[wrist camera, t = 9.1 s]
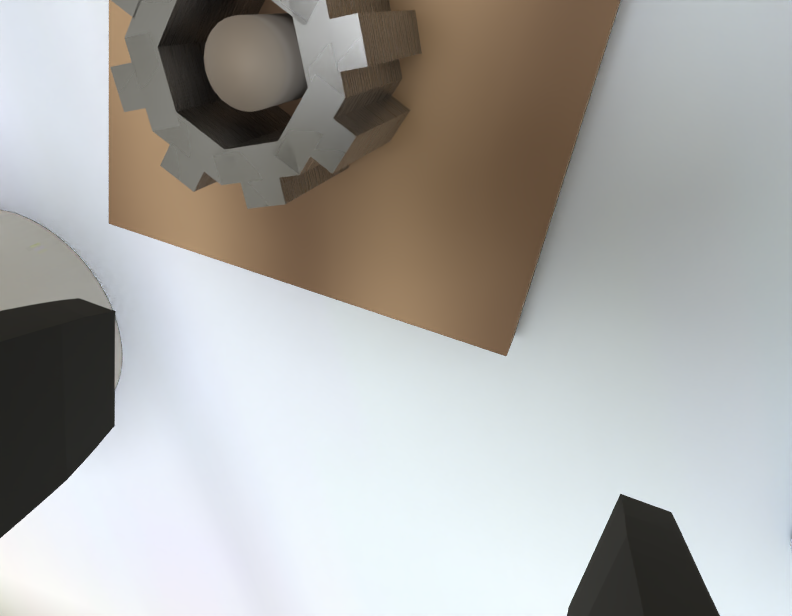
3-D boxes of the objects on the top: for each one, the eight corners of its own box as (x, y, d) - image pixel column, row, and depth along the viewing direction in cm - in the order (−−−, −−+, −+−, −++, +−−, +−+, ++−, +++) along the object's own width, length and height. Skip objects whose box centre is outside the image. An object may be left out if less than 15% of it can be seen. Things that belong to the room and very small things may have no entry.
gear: (396, -109, 14) (329, -139, 11) (438, 155, 16) (391, 192, 13) (177, -48, 16) (70, -59, 13) (238, 182, 18) (157, 219, 15)
